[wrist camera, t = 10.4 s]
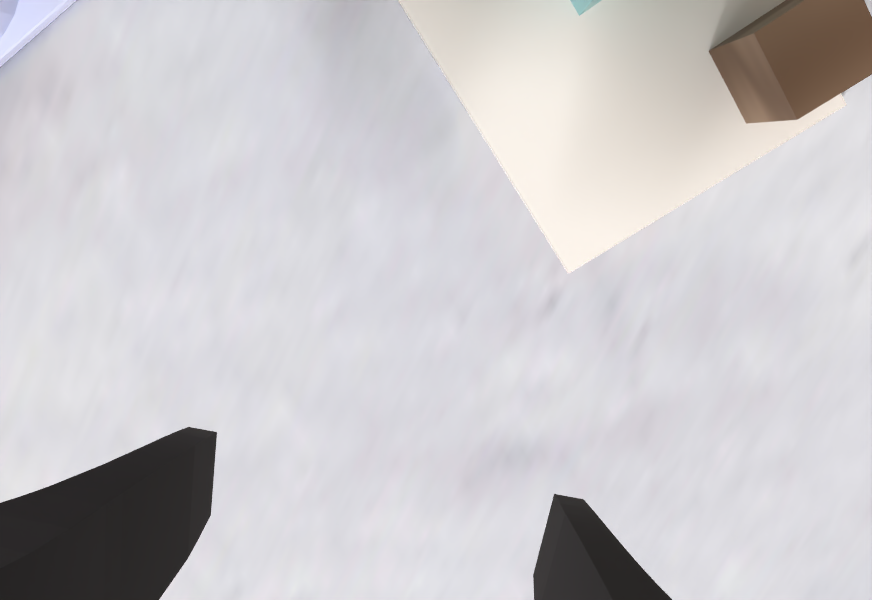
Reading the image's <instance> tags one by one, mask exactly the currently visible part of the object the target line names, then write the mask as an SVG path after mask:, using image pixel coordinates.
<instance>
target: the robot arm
mask: <svg viewBox="0 0 872 600" xmlns="http://www.w3.org/2000/svg"><path fill="white" fill-rule="evenodd" d="M75 1H76V0H0V67H1V66H2V65H3V64H4V63H5V62H7V61H8V60H9V59H10V58H11V57H12V56H13V55H15V54H16V53H17V52H18V51H19V50H20V49H21V48H23V47H24V46H25V45H26V44H27V43H28V42H29V41H31V40H32V39H33V38H34V37H35V36H36V35H38V34H39V33H40V32H41V31H42V30H43V29H44V28H46V27H47V26H48V25H49V24H50V23H51V22H52V21H54V20H55V19H56V18H57V17H58V16H59V15H60V14H62V13H63V12H64V11H65V10H66V9H67V8H68V7H70V6H71V5H72V4H73V3H74V2H75ZM216 437H217V432H213V431H207V430H202V429H196V428H191V427H187V428H185V429H182V430H179V431H177V432H174V433H172V434H170V435H168V436H165V437H163V438H161V439H159V440H156V441H154V442H152V443H150V444H148V445H145V446H143V447H141V448H139V449H137V450H134V451H132V452H130V453H128V454H126V455H123V456H121V457H119V458H117V459H114V460H112V461H110V462H108V463H105V464H103V465H101V466H98V467H96V468H93V469H91V470H89V471H86V472H84V473H81V474H79V475H76V476H74V477H71V478H69V479H66V480H64V481H61V482H59V483H56V484H54V485H51V486H49V487H46V488H43V489H41V490H38V491H35V492H32V493H29V494H26V495H23V496H21V497H17V498H14V499H11V500H8V501H5V502H2V503H0V600H159V599H160V597H161V596H162V595H163V593H164V592H165V590H166V589H167V587H168V586H169V585H170V583H171V582H172V580H173V579H174V577H175V576H176V575H177V573H178V572H179V570H180V569H181V567H182V566H183V565H184V563H185V562H186V560H187V559H188V557H189V555H190V553H191V552H192V550H193V548H194V546H195V544H196V542H197V541H198V539H199V537H200V535H201V533H202V531H203V529H204V527H205V525H206V523H207V521H208V519H209V517H210V516H211V504H212V490H213V477H214V463H215V450H216ZM533 578H534V600H672V599H671V598H670V597H669V596H668V595H667V594H666V593H665V592H664V591H663V590H662V589H661V588H660V587H659V586H658V585H657V584H656V583H655V582H654V580H653V579H652V578H651V577H650V576H649V575H648V574H647V573H646V572H645V571H644V570H643V569H642V567H641V566H640V565H639V564H638V563H637V562H636V561H635V560H634V558H633V557H632V556H631V555H630V554H629V553H628V551H627V550H626V549H625V548H624V547H623V546H622V544H621V543H620V542H619V541H618V540H617V539H616V537H615V536H614V535H613V534H612V533H611V531H610V530H609V529H608V528H607V527H606V525H605V524H604V523H603V522H602V521H601V519H600V518H599V517H598V516H597V515H596V513H595V512H594V511H593V510H592V509H591V507H590V506H589V505H588V504H587V503H586V502H585V501H584V500H583V499H578V498H573V497H568V496H562V495H557V494H554V497H553V501H552V505H551V509H550V513H549V516H548V520H547V524H546V528H545V532H544V536H543V540H542V544H541V547H540V551H539V555H538V559H537V563H536V567H535V571H534V574H533Z"/></svg>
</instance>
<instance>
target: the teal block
mask: <svg viewBox="0 0 872 600" xmlns="http://www.w3.org/2000/svg"><path fill="white" fill-rule="evenodd" d="M570 1H571V2H572V4H573V6H574V8H575V9H576V11H577V13H578V15H579V16H580V15H582V14H583V13H584V12H586V11H587V10H589V9H590V8H591V7H593V6H594V5H596V4H597V3H599V2H600V1H601V0H570Z"/></svg>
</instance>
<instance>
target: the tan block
mask: <svg viewBox="0 0 872 600" xmlns="http://www.w3.org/2000/svg"><path fill="white" fill-rule="evenodd" d="M709 53H710V55H711V57H712V59H713V61H714V63H715V65H716V67H717V68H718V70H719V72H720V74H721V76H722V78H723V80H724V82H725V84H726V86H727V88H728V90H729V91H730V93H731V95H732V97H733V99H734V101H735V103H736V105H737V107H738V109H739V111H740V113H741V115H742V116H743V118H744V120H745V122H746V124H747V123H761V122H774V121H788V120H798V119H800V118H801V117H803V116H804V115H806V114H808V113H809V112H811V111H813V110H814V109H816V108H818V107H819V106H821V105H822V104H824V103H826V102H827V101H829V100H831V99H832V98H834V97H835V96H837V95H839V94H840V93H842V92H844V91H845V90H847V89H849V88H850V87H852V86H853V85H855V84H857V83H858V82H860V81H862V80H863V79H865V78H867V77H868V76H870V75H871V74H872V17H871V15H870V12H869V10H868V8H867V6H866V4H865V1H864V0H785V1H784V2H782V3H781V4H779V5H778V6H776V7H775V8H773V9H772V10H770V11H769V12H767V13H766V14H764V15H763V16H761V17H760V18H758V19H756V20H755V21H753V22H752V23H750V24H749V25H747V26H746V27H744V28H743V29H741V30H740V31H738V32H737V33H735V34H734V35H732V36H731V37H729V38H728V39H726V40H724V41H723V42H721V43H720V44H718V45H717V46H715V47H714V48H712V49H711V50H709Z"/></svg>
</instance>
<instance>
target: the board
mask: <svg viewBox="0 0 872 600" xmlns="http://www.w3.org/2000/svg"><path fill="white" fill-rule="evenodd" d="M398 1H399V3H400V5H401V6H402V8H403V9H404V11H405V13H406V14H407V16H408V17H409V19H410V21H411V22H412V24H413V25H414V27H415V29H416V30H417V32H418V34H419V35H420V37H421V38H422V40H423V42H424V43H425V45H426V46H427V48H428V50H429V51H430V53H431V54H432V56H433V58H434V59H435V61H436V62H437V64H438V66H439V67H440V69H441V70H442V72H443V74H444V75H445V77H446V79H447V80H448V82H449V83H450V85H451V87H452V88H453V90H454V91H455V93H456V95H457V96H458V98H459V99H460V101H461V103H462V104H463V106H464V107H465V109H466V111H467V112H468V114H469V115H470V117H471V119H472V120H473V122H474V124H475V125H476V127H477V128H478V130H479V132H480V133H481V135H482V136H483V138H484V140H485V141H486V143H487V144H488V146H489V148H490V149H491V151H492V152H493V154H494V156H495V157H496V159H497V161H498V162H499V164H500V165H501V167H502V169H503V170H504V172H505V173H506V175H507V177H508V178H509V180H510V181H511V183H512V185H513V186H514V188H515V189H516V191H517V193H518V194H519V196H520V197H521V199H522V201H523V202H524V204H525V206H526V207H527V209H528V210H529V212H530V214H531V215H532V217H533V218H534V220H535V222H536V223H537V225H538V226H539V228H540V230H541V231H542V233H543V234H544V236H545V238H546V239H547V241H548V242H549V244H550V246H551V247H552V249H553V251H554V252H555V254H556V255H557V257H558V259H559V260H560V262H561V263H562V265H563V267H564V268H565V270H566V271H567V273H568V274H569V273H571V272H572V271H574V270H576V269H577V268H579V267H581V266H582V265H584V264H585V263H587V262H589V261H590V260H592V259H594V258H595V257H597V256H599V255H600V254H602V253H604V252H605V251H607V250H609V249H610V248H612V247H613V246H615V245H617V244H618V243H620V242H622V241H623V240H625V239H627V238H628V237H630V236H632V235H633V234H635V233H637V232H638V231H640V230H642V229H643V228H645V227H646V226H648V225H650V224H651V223H653V222H655V221H656V220H658V219H660V218H661V217H663V216H665V215H666V214H668V213H670V212H671V211H673V210H674V209H676V208H678V207H679V206H681V205H683V204H684V203H686V202H688V201H689V200H691V199H693V198H694V197H696V196H698V195H699V194H701V193H703V192H704V191H706V190H707V189H709V188H711V187H712V186H714V185H716V184H717V183H719V182H721V181H722V180H724V179H726V178H727V177H729V176H731V175H732V174H734V173H735V172H737V171H739V170H740V169H742V168H744V167H745V166H747V165H749V164H750V163H752V162H754V161H755V160H757V159H759V158H760V157H762V156H763V155H765V154H767V153H768V152H770V151H772V150H773V149H775V148H777V147H778V146H780V145H782V144H783V143H785V142H787V141H788V140H790V139H792V138H793V137H795V136H796V135H798V134H800V133H801V132H803V131H805V130H806V129H808V128H810V127H811V126H813V125H815V124H816V123H818V122H820V121H821V120H823V119H824V118H826V117H828V116H829V115H831V114H833V113H834V112H836V111H838V110H839V109H841V108H843V107H844V106H846V103H845V100H844V98H843V96H842V94H841V93H840V94H839V95H837V96H835V97H834V98H832V99H831V100H829V101H827V102H826V103H824V104H822V105H821V106H819V107H818V108H816V109H814V110H813V111H811V112H809V113H808V114H806V115H804V116H803V117H801V118H800V119H798V120H788V121H774V122H761V123H747V124H746V122H745V120H744V118H743V116H742V115H741V113H740V111H739V109H738V107H737V105H736V103H735V101H734V99H733V97H732V95H731V93H730V91H729V90H728V88H727V86H726V84H725V82H724V80H723V78H722V76H721V74H720V72H719V70H718V68H717V67H716V65H715V63H714V61H713V59H712V57H711V55H710V53H709V50H711V49H712V48H714V47H715V46H717V45H718V44H720V43H721V42H723V41H724V40H726V39H728V38H729V37H731V36H732V35H734V34H735V33H737V32H738V31H740V30H741V29H743V28H744V27H746V26H747V25H749V24H750V23H752V22H753V21H755V20H756V19H758V18H760V17H761V16H763V15H764V14H766V13H767V12H769V11H770V10H772V9H773V8H775V7H776V6H778V5H779V4H781V3H782V2H784V1H785V0H601V1H600V2H599V3H597V4H596V5H594V6H593V7H591V8H590V9H589V10H587V11H586V12H584V13H583V14H582V15H580V16H579V15H578V13H577V11H576V9H575V8H574V6H573V4H572V2H571V1H570V0H398Z"/></svg>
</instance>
